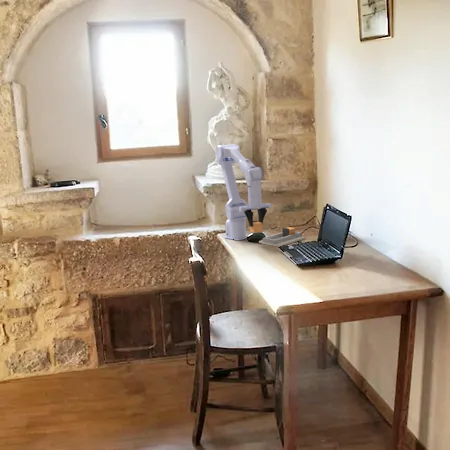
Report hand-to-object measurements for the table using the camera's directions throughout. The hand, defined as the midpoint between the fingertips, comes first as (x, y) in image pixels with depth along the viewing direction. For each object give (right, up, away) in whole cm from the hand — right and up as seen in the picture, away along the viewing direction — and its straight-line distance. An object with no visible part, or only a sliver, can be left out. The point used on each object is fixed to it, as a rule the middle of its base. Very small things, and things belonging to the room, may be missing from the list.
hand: (255, 225), depth 263 cm
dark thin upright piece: (+32, -7, +7) cm, 33 cm away
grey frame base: (+12, -7, +8) cm, 16 cm away
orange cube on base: (0, -3, +1) cm, 3 cm away
